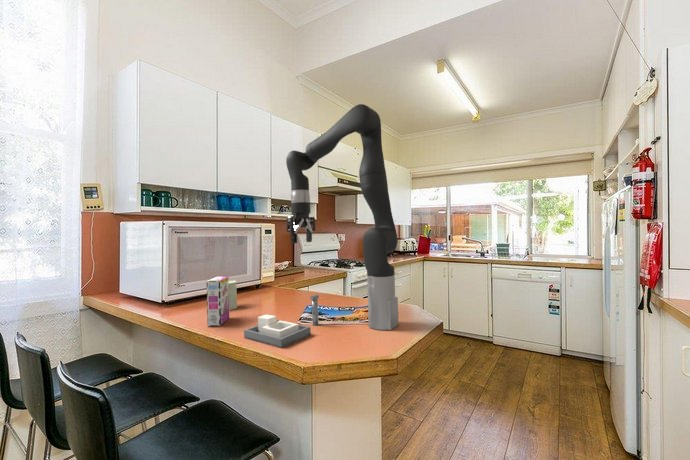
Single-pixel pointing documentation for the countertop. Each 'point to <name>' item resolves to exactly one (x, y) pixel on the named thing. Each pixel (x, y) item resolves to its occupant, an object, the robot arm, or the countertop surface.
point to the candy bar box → (217, 301)
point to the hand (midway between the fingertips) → (302, 242)
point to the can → (232, 295)
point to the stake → (315, 309)
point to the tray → (276, 341)
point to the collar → (275, 326)
